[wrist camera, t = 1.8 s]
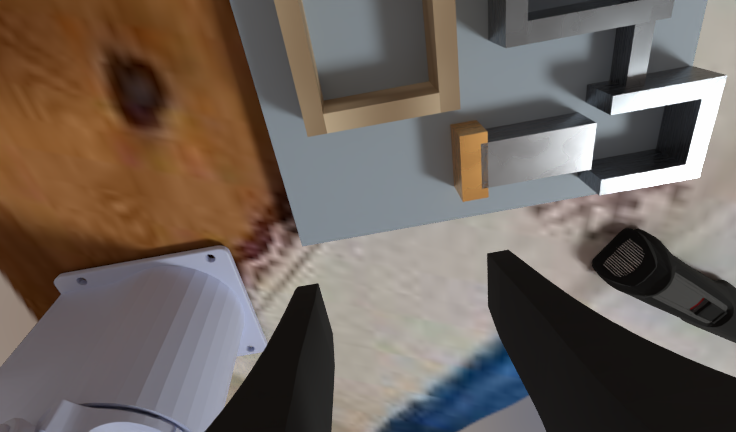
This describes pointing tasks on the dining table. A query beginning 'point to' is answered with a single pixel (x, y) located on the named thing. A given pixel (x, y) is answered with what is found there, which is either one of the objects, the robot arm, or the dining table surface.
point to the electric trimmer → (667, 282)
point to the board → (432, 132)
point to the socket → (627, 85)
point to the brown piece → (382, 103)
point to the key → (519, 152)
